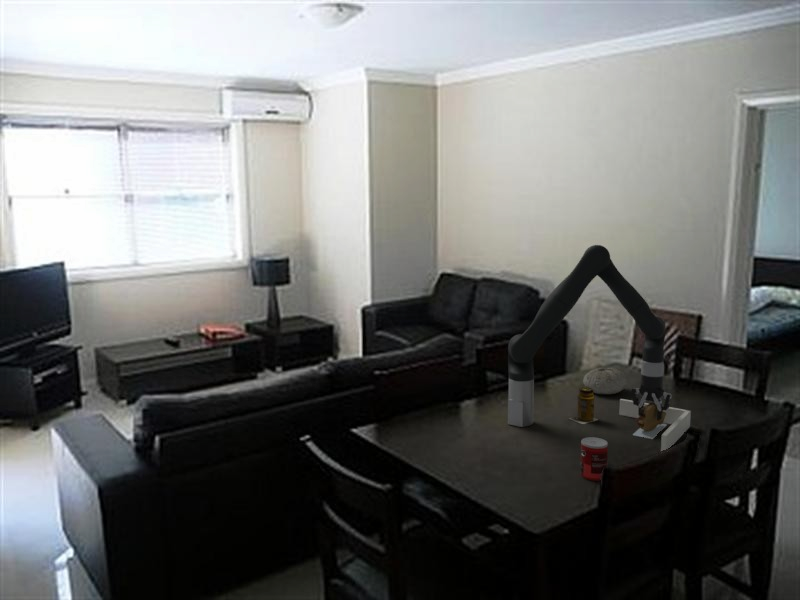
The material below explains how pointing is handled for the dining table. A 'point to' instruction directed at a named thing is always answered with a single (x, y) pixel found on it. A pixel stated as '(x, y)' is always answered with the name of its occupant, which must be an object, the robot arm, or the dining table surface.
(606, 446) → the canned food
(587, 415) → the condiment
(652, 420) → the wooden carving
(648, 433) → the pad
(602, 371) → the decorative shell
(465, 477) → the dining table surface
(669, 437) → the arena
